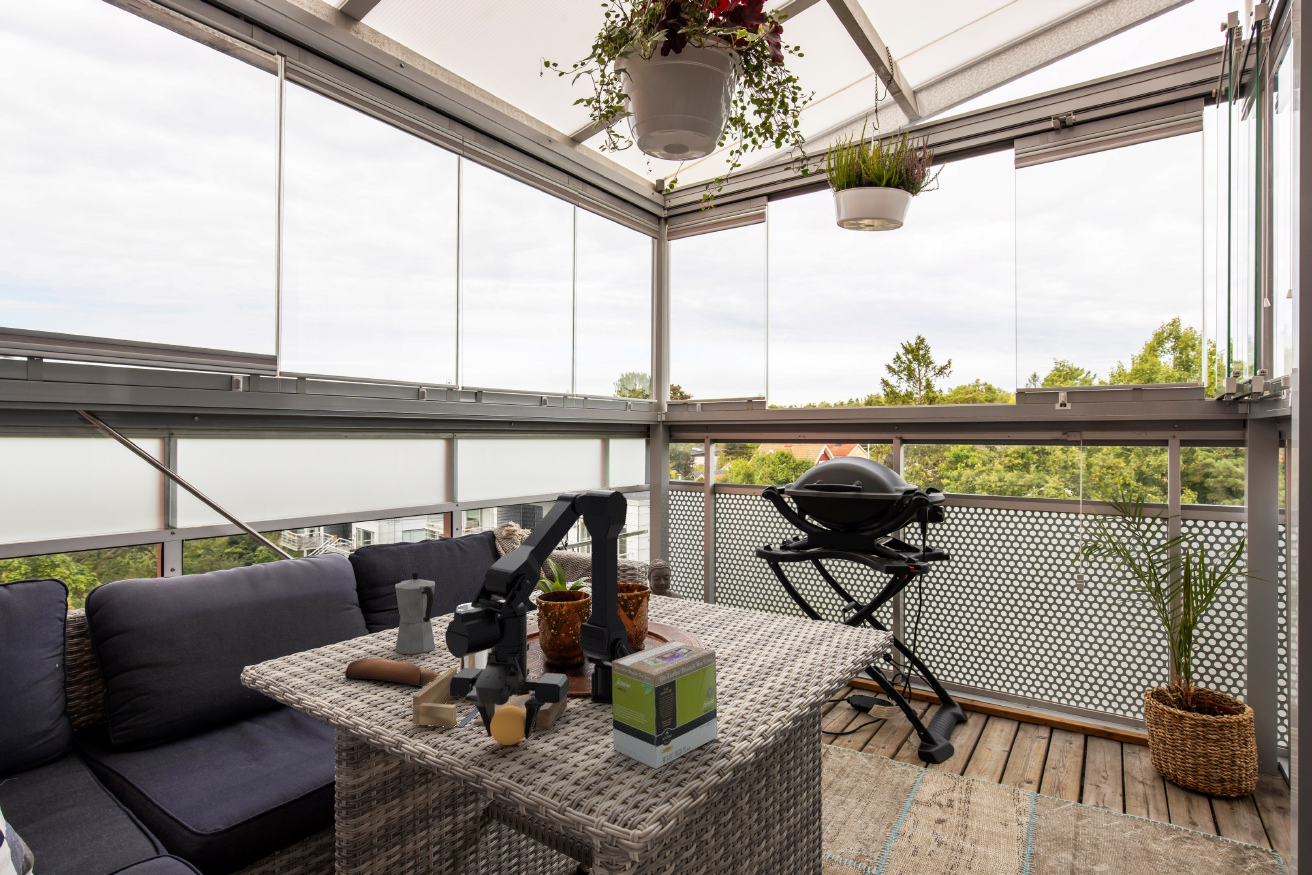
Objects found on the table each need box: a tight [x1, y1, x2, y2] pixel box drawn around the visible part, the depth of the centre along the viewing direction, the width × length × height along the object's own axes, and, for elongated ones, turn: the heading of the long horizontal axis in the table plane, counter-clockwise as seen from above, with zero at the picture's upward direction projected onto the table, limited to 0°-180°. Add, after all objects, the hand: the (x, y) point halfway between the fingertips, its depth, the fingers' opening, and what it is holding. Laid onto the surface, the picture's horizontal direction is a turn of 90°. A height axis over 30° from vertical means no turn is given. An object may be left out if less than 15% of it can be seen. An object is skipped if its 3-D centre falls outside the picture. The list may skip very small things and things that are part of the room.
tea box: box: [612, 639, 718, 770], centre depth 112 cm, size 15×10×15 cm, turn 136°
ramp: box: [473, 692, 568, 731], centre depth 124 cm, size 14×10×5 cm
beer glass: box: [456, 602, 489, 672], centre depth 141 cm, size 7×7×15 cm
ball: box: [490, 705, 526, 746], centre depth 113 cm, size 6×6×6 cm
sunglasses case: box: [344, 657, 441, 689], centre depth 142 cm, size 18×7×7 cm
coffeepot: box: [394, 570, 436, 655], centre depth 160 cm, size 15×9×18 cm, turn 43°
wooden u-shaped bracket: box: [412, 667, 479, 728], centre depth 126 cm, size 9×14×5 cm, turn 170°
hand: (509, 737), depth 113 cm, fingers closed on ball, 6 cm apart
